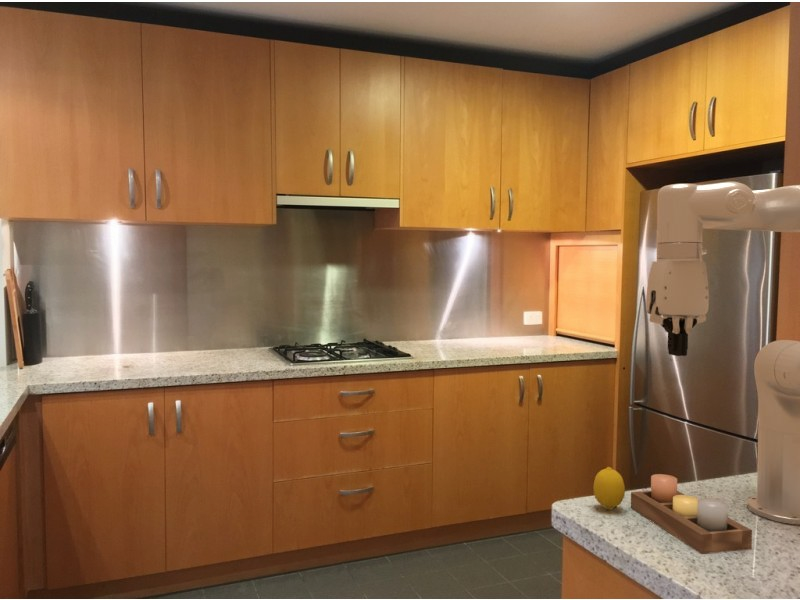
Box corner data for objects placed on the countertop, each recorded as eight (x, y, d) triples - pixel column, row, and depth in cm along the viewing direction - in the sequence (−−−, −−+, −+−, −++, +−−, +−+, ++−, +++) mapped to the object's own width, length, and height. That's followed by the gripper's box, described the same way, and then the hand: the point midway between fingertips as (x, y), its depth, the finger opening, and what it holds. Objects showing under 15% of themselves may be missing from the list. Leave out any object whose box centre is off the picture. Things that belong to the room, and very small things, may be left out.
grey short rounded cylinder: (714, 523, 106) (715, 497, 106) (733, 533, 102) (733, 506, 102) (691, 525, 105) (691, 499, 105) (709, 535, 101) (709, 508, 101)
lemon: (626, 516, 115) (627, 472, 114) (594, 514, 116) (595, 470, 116) (622, 505, 120) (622, 463, 120) (591, 503, 121) (592, 462, 121)
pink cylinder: (667, 496, 119) (667, 473, 119) (682, 505, 115) (682, 480, 114) (646, 498, 118) (646, 474, 118) (660, 506, 114) (660, 482, 114)
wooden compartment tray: (673, 504, 121) (674, 488, 121) (751, 548, 101) (752, 530, 101) (630, 507, 119) (630, 492, 119) (701, 553, 99) (701, 534, 99)
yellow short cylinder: (689, 518, 113) (689, 494, 112) (706, 528, 108) (706, 502, 108) (667, 520, 112) (667, 495, 112) (683, 530, 107) (683, 504, 107)
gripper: (702, 254, 120) (700, 351, 120) (629, 254, 117) (628, 353, 117) (730, 253, 112) (728, 356, 113) (653, 252, 109) (652, 358, 110)
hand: (677, 354), depth 115 cm, fingers closed
